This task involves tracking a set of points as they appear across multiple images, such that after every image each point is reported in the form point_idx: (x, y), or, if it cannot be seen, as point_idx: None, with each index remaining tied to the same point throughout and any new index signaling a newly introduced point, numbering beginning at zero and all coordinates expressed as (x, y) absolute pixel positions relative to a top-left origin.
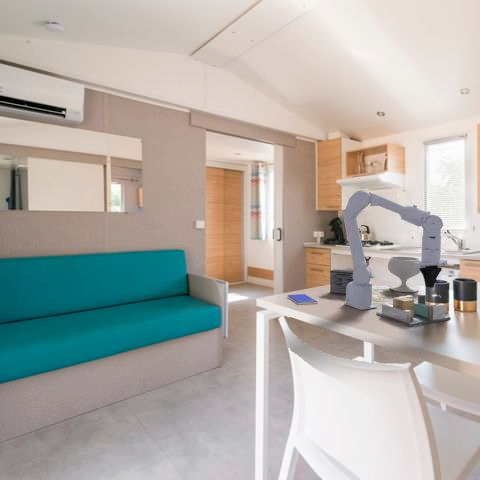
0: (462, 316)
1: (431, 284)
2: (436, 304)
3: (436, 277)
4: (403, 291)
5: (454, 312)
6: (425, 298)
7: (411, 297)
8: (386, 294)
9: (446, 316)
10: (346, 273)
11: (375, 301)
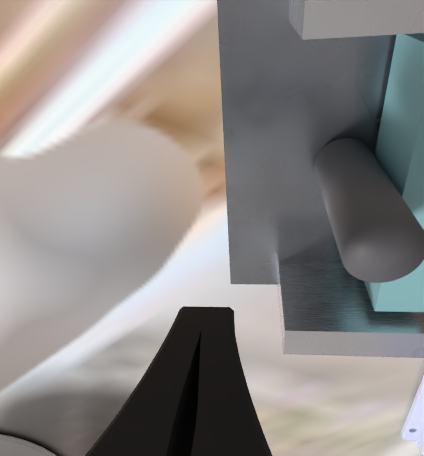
0: (39, 7)
1: (233, 339)
2: (408, 30)
3: (124, 432)
4: (41, 450)
5: (25, 117)
6: (370, 203)
7: (305, 324)
8: None
9: (235, 7)
10: None
11: (308, 415)
